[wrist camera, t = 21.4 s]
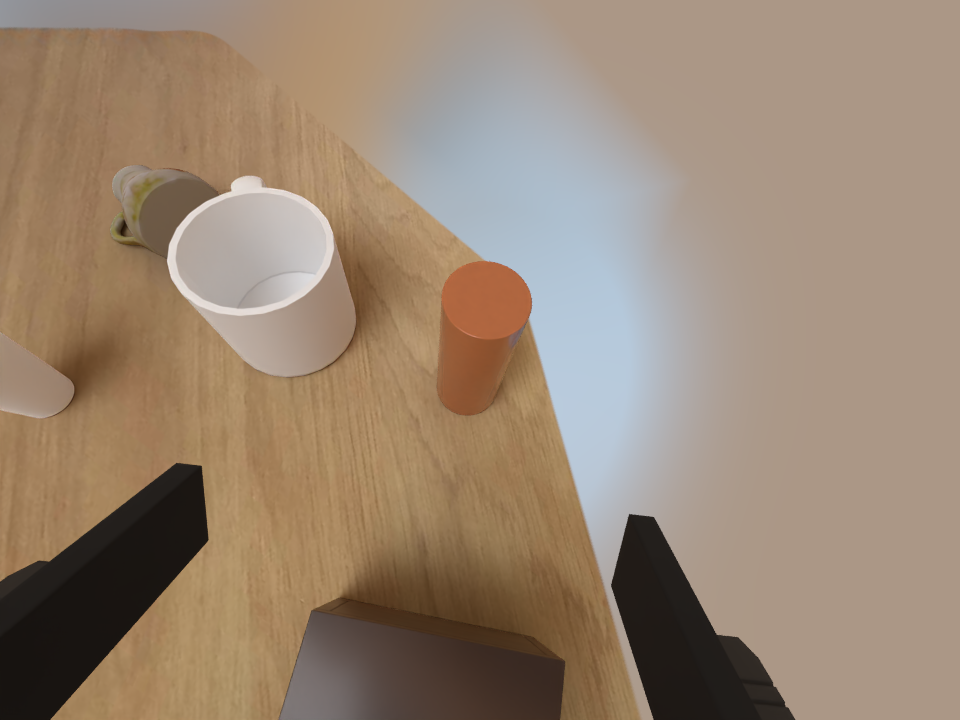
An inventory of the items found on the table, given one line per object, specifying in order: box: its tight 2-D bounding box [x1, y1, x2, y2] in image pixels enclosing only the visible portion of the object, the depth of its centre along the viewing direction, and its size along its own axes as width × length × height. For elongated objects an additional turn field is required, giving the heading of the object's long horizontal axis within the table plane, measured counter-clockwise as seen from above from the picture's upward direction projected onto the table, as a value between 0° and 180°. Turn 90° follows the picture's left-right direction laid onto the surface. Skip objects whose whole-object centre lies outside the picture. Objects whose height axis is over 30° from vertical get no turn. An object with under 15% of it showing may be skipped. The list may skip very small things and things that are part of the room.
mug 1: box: [110, 165, 219, 258], centre depth 38 cm, size 8×10×10 cm
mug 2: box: [167, 176, 356, 377], centre depth 34 cm, size 13×10×10 cm
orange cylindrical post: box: [437, 261, 532, 415], centre depth 31 cm, size 5×5×14 cm
